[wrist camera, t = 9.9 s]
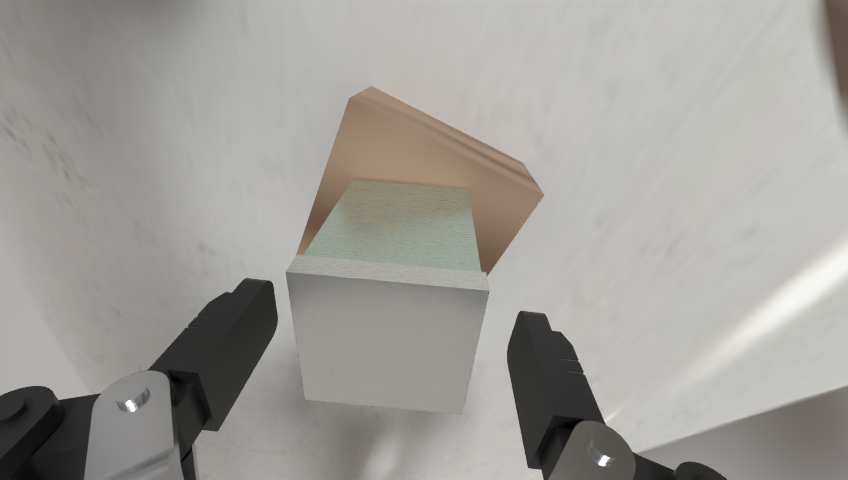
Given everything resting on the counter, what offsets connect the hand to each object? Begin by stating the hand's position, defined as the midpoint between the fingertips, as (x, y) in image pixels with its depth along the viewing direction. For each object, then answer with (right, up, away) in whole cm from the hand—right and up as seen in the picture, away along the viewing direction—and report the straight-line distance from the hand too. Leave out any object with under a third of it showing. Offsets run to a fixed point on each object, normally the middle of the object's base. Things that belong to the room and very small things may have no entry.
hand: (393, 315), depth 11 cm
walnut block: (+1, +5, +9) cm, 11 cm away
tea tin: (0, +3, +5) cm, 6 cm away
